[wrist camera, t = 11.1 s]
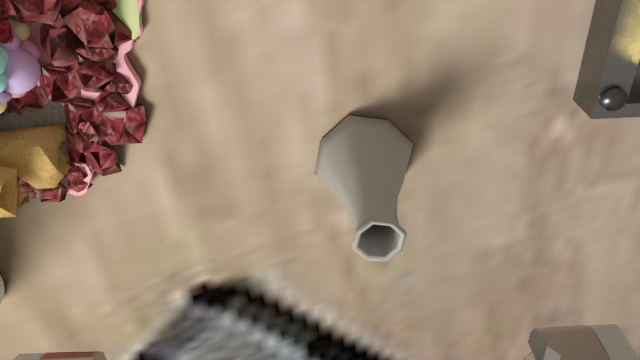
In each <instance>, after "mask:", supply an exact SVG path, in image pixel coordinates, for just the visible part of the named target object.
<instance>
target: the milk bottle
mask: <svg viewBox="0 0 640 360" xmlns="http://www.w3.org/2000/svg"><path fill="white" fill-rule="evenodd" d="M3 297H4V281H3V279H2V277H1V274H0V304H1V302H2V300H3Z"/></svg>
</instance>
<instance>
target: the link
mask: <svg viewBox="0 0 640 360" xmlns="http://www.w3.org/2000/svg"><path fill="white" fill-rule="evenodd" d="M639 59H640V0H596V3H595V7H594V12H593V16H592V20H591V25H590V29H589V33H588V38H587V42H586V46H585V50H584V55H583V59H582V63H581V68H580V72H579V76H578V81H577V85H576V89H575V93H574V98H573V100H574V101H575V102H576V103H577V105H578V106H579V107H580V108H581V109H582V110H583V111H584V112H585V113H586V114H587V115H588V116H589V117H590V118H591V119H601V118H623V117H640V66H639V65H638V63H639Z"/></svg>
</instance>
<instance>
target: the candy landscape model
mask: <svg viewBox="0 0 640 360" xmlns="http://www.w3.org/2000/svg"><path fill="white" fill-rule="evenodd" d="M144 1H145V0H0V218H2V217H17V207H20V206H21V205H23V204H25V203H27V202H29V199H30V200H33V199H37V198H39V197H40V199H41V202H47V201H48V202H61V201H63V200H65V197H66V194H72V195H75V196H80V195H83V194H85V193H86V191H87V189H88V188H90V187H91V186H92V185H93V184H91V181H92V177H93V174H94V172H97V173H99V174H101V175H102V176H105V175H109V174H113V173H117V172H121V171H122V170H121V167H120V164H119V161H118V158H117V155H116V152H115V151H114V150H112V149H110V148H107V147H105V146H103V145H101V143H102V141H104V142H107V143H109V144H110V145H120V144H134V143H142V139H143V134H144V129H145V125H146V116H145V110H144V105H138V104H136V102H137V97H138V95H139V89H140V86H141V80H140V78H139V76H138V75H137V73H136V71H135V70H134V68H133V67H132V65H131V64H130V62H129V60H128V57H127V52H128V51H130V50H131V48H132V47H133V46H134V42H135V40H136V39H138V38H139V36H140V34H141V33H142V32H143V30H144V28H143V24H142V15H141V14H142V9H143V4H144Z"/></svg>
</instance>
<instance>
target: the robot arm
mask: <svg viewBox="0 0 640 360" xmlns="http://www.w3.org/2000/svg"><path fill="white" fill-rule="evenodd" d="M528 343H529V345H530V348H531V350H532V351H531V352H530V353H529V354H528V355H527V356H525V357H524V360H640V359H639V357H638V356H637V354H636V353H635V351H634V350H633V348H632V346H631V345H630V343H629V342H628V340H627V339H626V337H625V335H624V334H623V332H622V331H621V329H620V328H619V327H618V326H616V325H615V324H605V325H587V326H585V325H579V326H563V327H547V328H534V329H533V330H532V332H531V333H530V336H529V340H528ZM14 360H106V357H105V355H104V353H103V352H98V351H97V352H57V353H31V354H19V355H18V356H17V357H16V358H15V359H14Z"/></svg>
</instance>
